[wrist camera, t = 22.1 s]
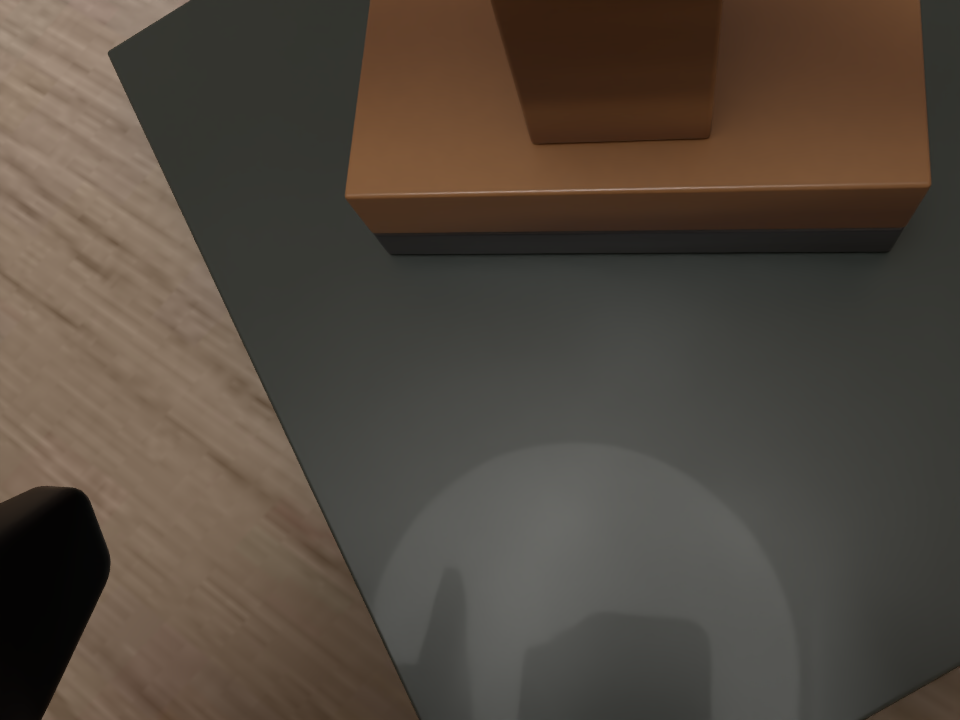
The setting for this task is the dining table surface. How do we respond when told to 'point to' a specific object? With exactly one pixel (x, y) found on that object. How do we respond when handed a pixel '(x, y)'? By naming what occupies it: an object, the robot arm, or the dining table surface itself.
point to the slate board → (583, 411)
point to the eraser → (640, 126)
